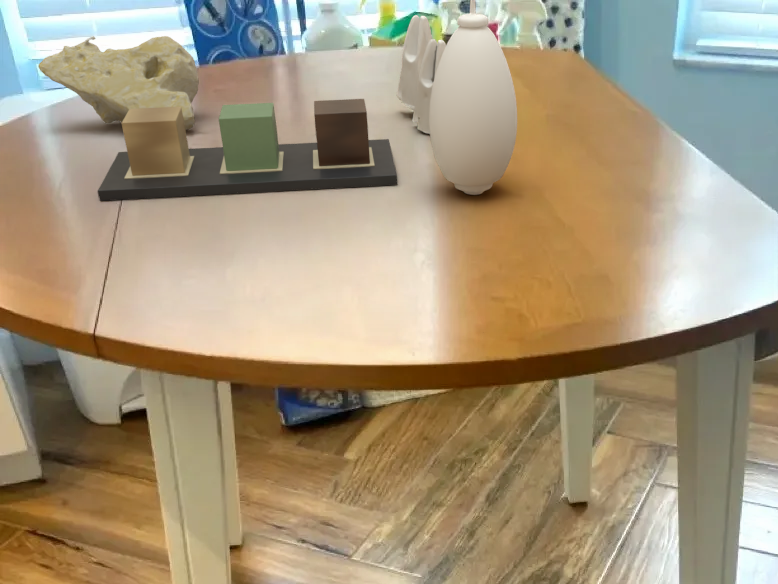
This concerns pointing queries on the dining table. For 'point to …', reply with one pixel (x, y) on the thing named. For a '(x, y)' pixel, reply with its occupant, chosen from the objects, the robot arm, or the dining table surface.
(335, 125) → the walnut block
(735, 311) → the dining table surface
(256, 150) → the green block
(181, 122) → the maple block
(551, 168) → the dining table surface
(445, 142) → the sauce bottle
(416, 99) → the shaker set
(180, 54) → the beige rock
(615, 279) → the dining table surface
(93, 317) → the dining table surface
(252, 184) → the word board
